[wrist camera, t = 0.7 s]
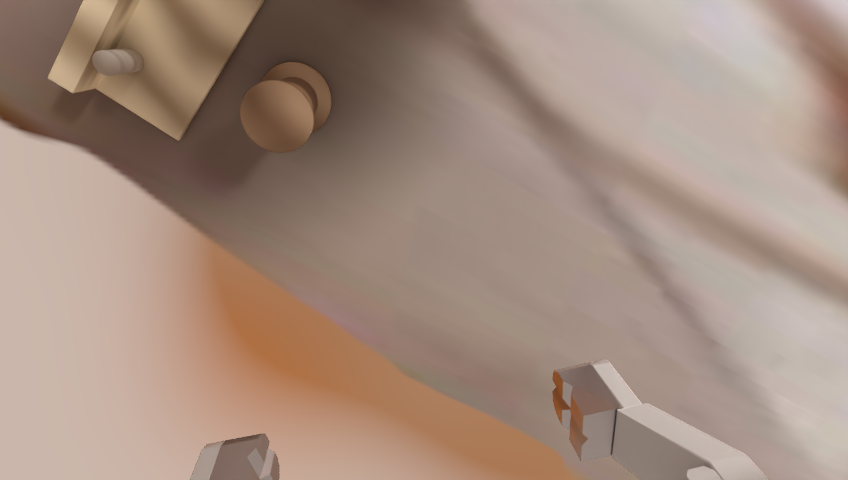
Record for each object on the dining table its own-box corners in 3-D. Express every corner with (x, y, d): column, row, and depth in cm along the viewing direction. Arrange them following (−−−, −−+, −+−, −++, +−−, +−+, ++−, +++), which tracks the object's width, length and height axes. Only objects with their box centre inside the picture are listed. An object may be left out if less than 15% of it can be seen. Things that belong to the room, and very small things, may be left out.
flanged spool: (285, 45, 40) (260, 50, 30) (345, 93, 42) (338, 111, 33) (248, 103, 42) (213, 124, 32) (307, 145, 44) (291, 176, 35)
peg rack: (187, -155, 32) (158, -184, 28) (296, -54, 36) (287, -65, 32) (76, 73, 38) (39, 79, 34) (180, 139, 42) (158, 151, 38)
